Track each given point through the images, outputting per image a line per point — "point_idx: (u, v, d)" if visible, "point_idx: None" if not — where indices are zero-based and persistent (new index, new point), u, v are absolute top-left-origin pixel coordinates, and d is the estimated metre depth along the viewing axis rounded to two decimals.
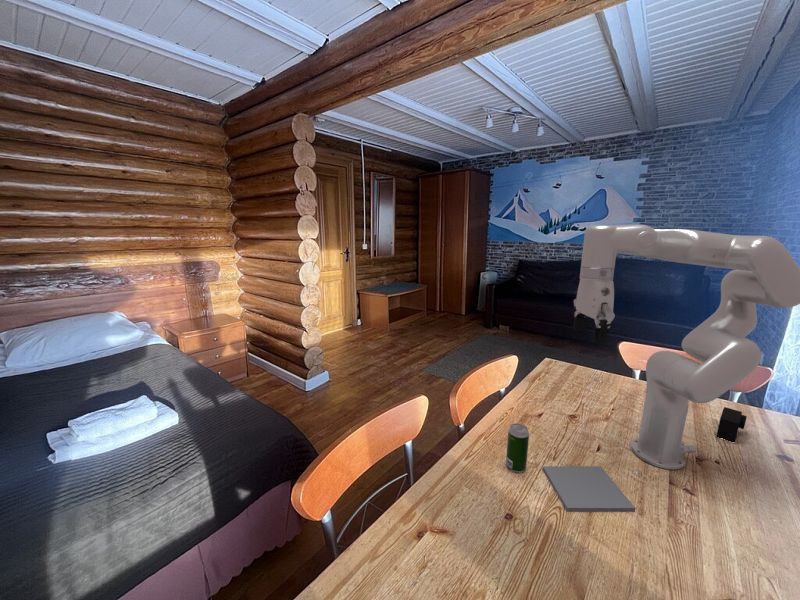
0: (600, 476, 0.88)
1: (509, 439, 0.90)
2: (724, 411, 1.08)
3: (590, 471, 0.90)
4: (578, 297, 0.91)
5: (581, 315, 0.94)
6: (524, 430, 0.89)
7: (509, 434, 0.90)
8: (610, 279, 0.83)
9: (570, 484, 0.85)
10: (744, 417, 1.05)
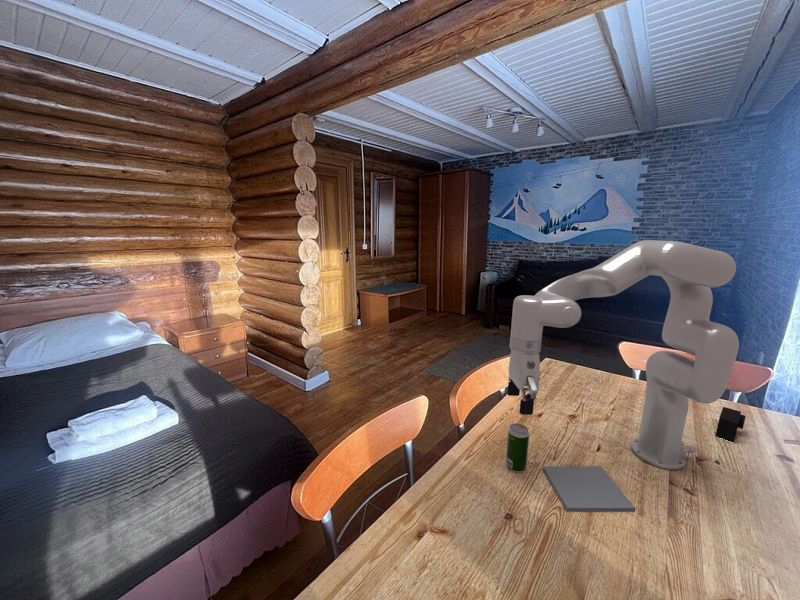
0: (600, 476, 0.88)
1: (509, 439, 0.90)
2: (723, 411, 1.08)
3: (590, 471, 0.90)
4: (510, 364, 0.90)
5: None
6: (524, 430, 0.89)
7: (509, 434, 0.90)
8: (536, 352, 0.82)
9: (570, 484, 0.85)
10: (743, 417, 1.05)
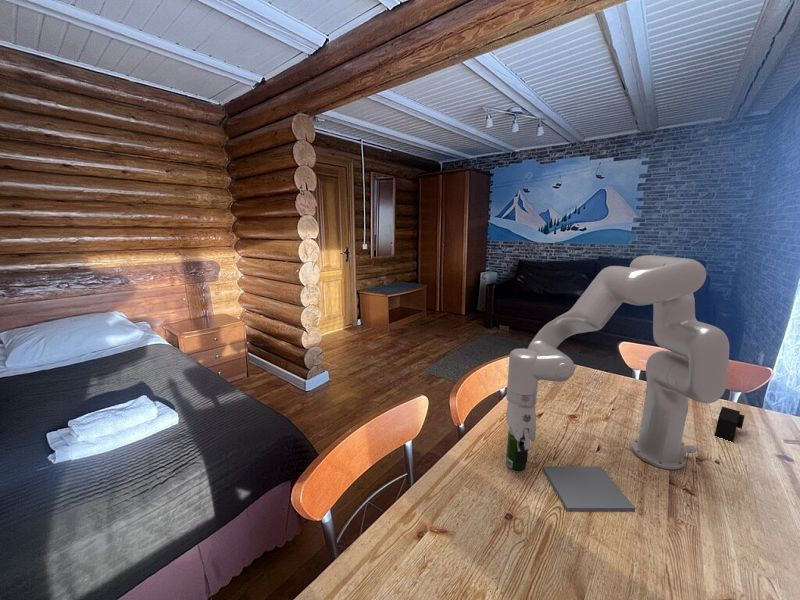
0: (600, 476, 0.88)
1: (509, 439, 0.90)
2: (722, 411, 1.08)
3: (590, 471, 0.90)
4: (507, 412, 0.93)
5: None
6: None
7: (509, 434, 0.90)
8: (532, 405, 0.85)
9: (570, 484, 0.85)
10: (742, 416, 1.05)
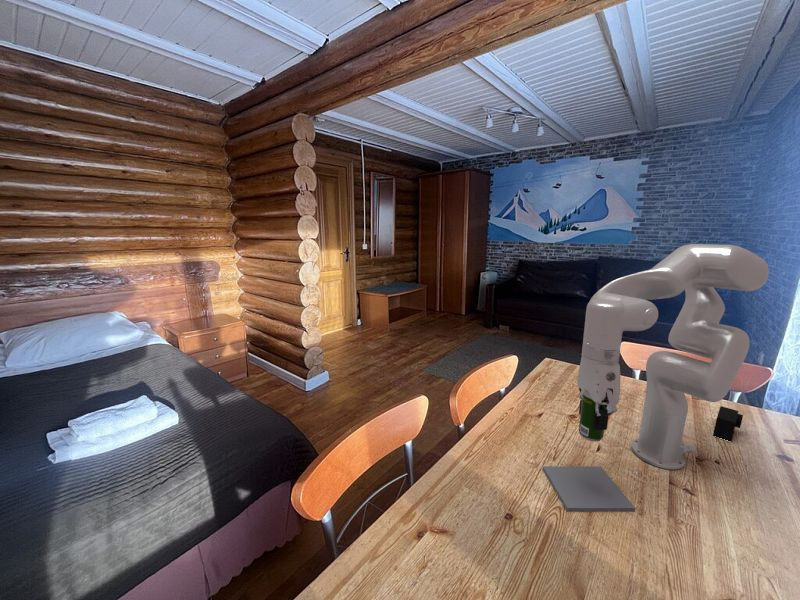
0: (600, 476, 0.88)
1: (584, 403, 0.80)
2: (720, 410, 1.08)
3: (590, 471, 0.90)
4: (580, 374, 0.82)
5: None
6: None
7: (585, 397, 0.79)
8: (616, 361, 0.74)
9: (570, 484, 0.85)
10: (740, 416, 1.06)
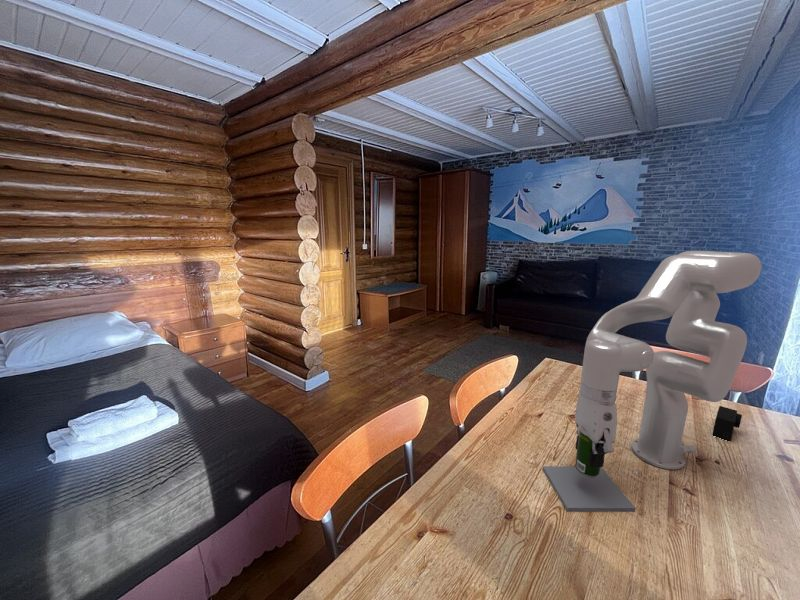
0: (600, 476, 0.88)
1: (581, 440, 0.81)
2: (720, 410, 1.08)
3: None
4: (578, 410, 0.84)
5: None
6: None
7: (582, 434, 0.81)
8: (613, 402, 0.76)
9: (570, 484, 0.85)
10: (739, 416, 1.06)
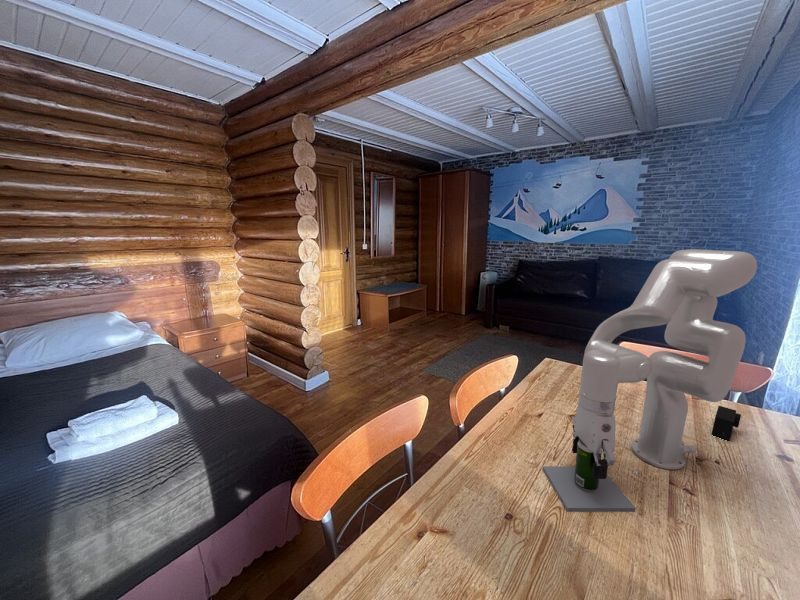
0: None
1: (580, 455, 0.82)
2: (719, 410, 1.09)
3: None
4: (576, 420, 0.84)
5: None
6: None
7: (579, 449, 0.82)
8: (611, 413, 0.77)
9: (570, 484, 0.85)
10: (738, 415, 1.06)
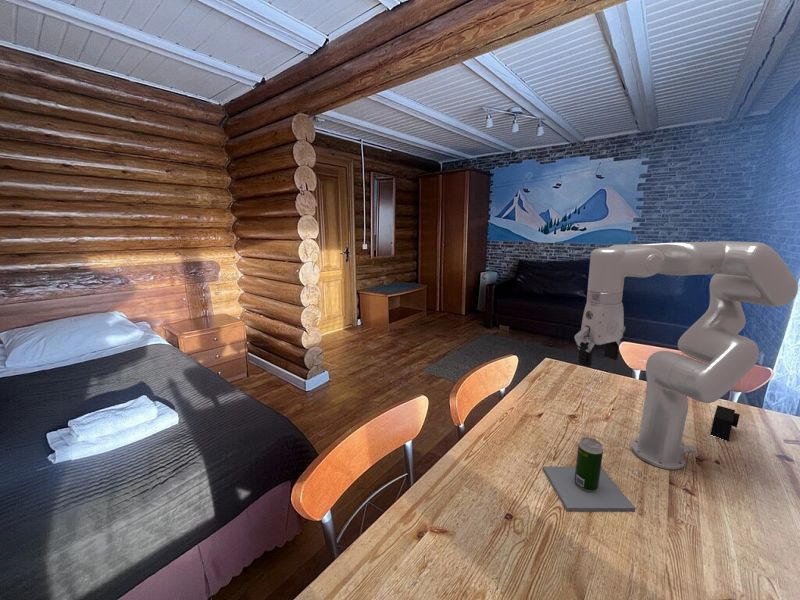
0: (600, 476, 0.88)
1: (580, 455, 0.82)
2: (718, 409, 1.09)
3: None
4: None
5: (612, 341, 0.87)
6: (597, 445, 0.81)
7: (580, 450, 0.82)
8: (601, 304, 0.80)
9: (570, 484, 0.85)
10: (737, 415, 1.06)
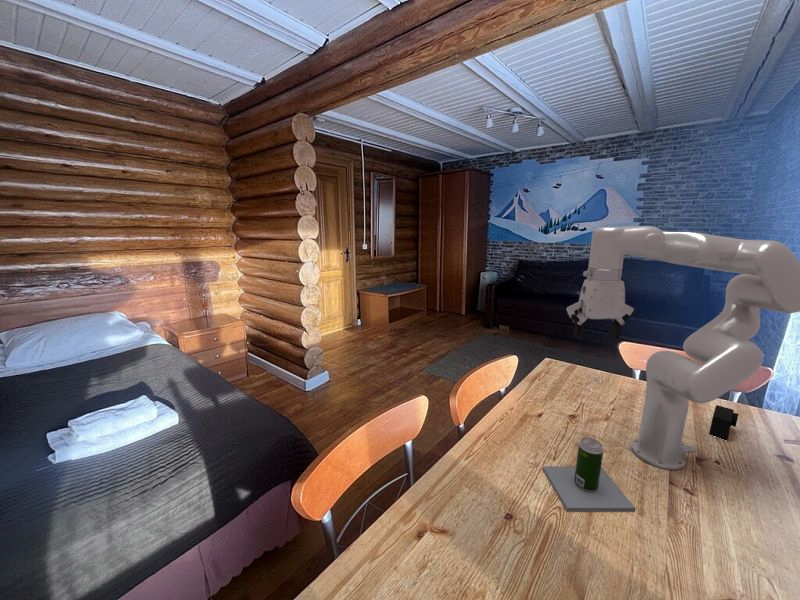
0: (600, 476, 0.88)
1: (580, 455, 0.82)
2: (716, 409, 1.09)
3: None
4: None
5: (616, 321, 0.89)
6: (598, 445, 0.81)
7: (580, 450, 0.82)
8: (594, 280, 0.85)
9: (570, 484, 0.85)
10: (736, 415, 1.06)
